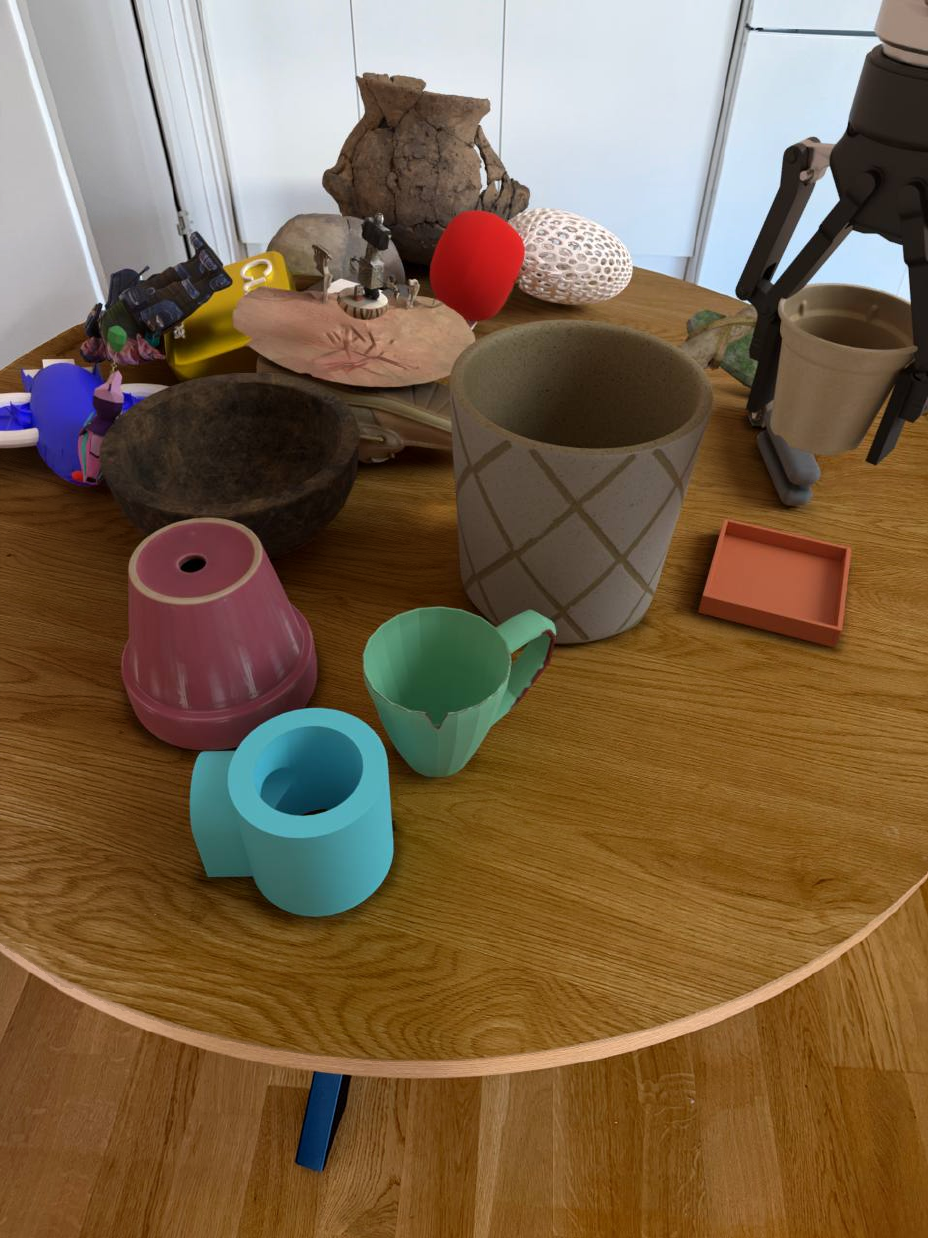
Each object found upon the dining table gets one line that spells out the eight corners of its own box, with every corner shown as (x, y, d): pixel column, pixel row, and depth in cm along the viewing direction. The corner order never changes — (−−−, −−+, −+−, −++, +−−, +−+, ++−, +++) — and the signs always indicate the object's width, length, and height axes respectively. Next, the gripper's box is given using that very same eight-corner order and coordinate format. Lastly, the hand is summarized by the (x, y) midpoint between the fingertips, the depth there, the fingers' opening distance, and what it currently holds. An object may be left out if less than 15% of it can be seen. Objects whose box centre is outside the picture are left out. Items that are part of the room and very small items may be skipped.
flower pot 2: (856, 395, 67) (897, 280, 61) (910, 470, 60) (962, 349, 54) (730, 398, 66) (759, 282, 60) (771, 474, 59) (808, 352, 53)
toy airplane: (-71, 465, 79) (-57, 514, 82) (222, 443, 88) (223, 488, 92) (-66, 342, 95) (-55, 388, 98) (181, 334, 104) (184, 376, 107)
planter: (695, 650, 74) (754, 443, 60) (465, 672, 72) (470, 463, 58) (632, 508, 88) (667, 312, 74) (435, 523, 86) (434, 324, 72)
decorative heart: (568, 322, 108) (631, 319, 121) (595, 227, 102) (658, 235, 116) (450, 277, 115) (521, 278, 128) (470, 187, 110) (542, 198, 123)
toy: (160, 292, 85) (133, 436, 93) (115, 279, 84) (91, 425, 91) (142, 345, 73) (111, 507, 80) (88, 330, 72) (62, 495, 79)
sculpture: (509, 327, 100) (538, 183, 89) (406, 442, 85) (424, 285, 73) (314, 252, 105) (316, 106, 93) (182, 348, 90) (165, 187, 78)
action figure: (214, 265, 88) (72, 381, 90) (256, 316, 93) (121, 424, 95) (172, 194, 101) (49, 296, 103) (211, 241, 106) (93, 338, 108)
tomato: (467, 173, 102) (550, 215, 103) (443, 241, 113) (519, 278, 114) (430, 251, 98) (518, 294, 99) (409, 314, 109) (488, 352, 110)
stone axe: (577, 398, 94) (621, 253, 112) (568, 436, 98) (612, 290, 116) (827, 458, 92) (830, 300, 110) (808, 494, 95) (814, 336, 114)
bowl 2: (413, 227, 121) (407, 291, 124) (281, 208, 120) (277, 272, 123) (408, 221, 104) (400, 295, 107) (253, 198, 103) (250, 273, 106)
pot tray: (844, 564, 82) (851, 547, 81) (834, 648, 75) (842, 630, 73) (719, 534, 85) (724, 517, 84) (697, 612, 78) (702, 595, 76)
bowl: (243, 648, 73) (222, 553, 66) (77, 541, 83) (43, 448, 76) (414, 517, 86) (412, 426, 79) (254, 436, 95) (239, 348, 88)
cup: (199, 919, 57) (169, 840, 51) (223, 792, 64) (199, 709, 57) (391, 915, 57) (385, 836, 51) (395, 790, 64) (390, 707, 58)
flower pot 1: (289, 632, 57) (308, 754, 66) (312, 496, 67) (326, 619, 76) (60, 629, 57) (110, 753, 66) (118, 493, 67) (154, 617, 76)
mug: (417, 831, 62) (413, 739, 55) (345, 736, 67) (334, 642, 60) (582, 736, 68) (598, 642, 61) (504, 656, 74) (511, 562, 67)
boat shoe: (510, 399, 93) (492, 470, 97) (279, 337, 94) (272, 410, 98) (496, 427, 85) (478, 503, 89) (246, 359, 86) (239, 436, 91)
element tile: (175, 315, 109) (156, 282, 105) (293, 275, 109) (279, 241, 105) (184, 399, 101) (164, 367, 97) (312, 356, 101) (297, 322, 96)
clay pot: (285, 235, 121) (303, 49, 111) (392, 238, 140) (416, 78, 129) (436, 284, 111) (471, 84, 101) (529, 280, 130) (567, 111, 119)
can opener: (737, 403, 101) (748, 362, 98) (795, 406, 101) (808, 365, 98) (766, 508, 88) (780, 465, 84) (833, 512, 88) (849, 468, 84)
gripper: (729, 25, 50) (659, 392, 66) (1147, 111, 40) (945, 519, 56) (796, 5, 54) (715, 355, 70) (1192, 78, 44) (992, 469, 60)
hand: (817, 428), depth 63 cm, fingers closed on flower pot 2, 8 cm apart
